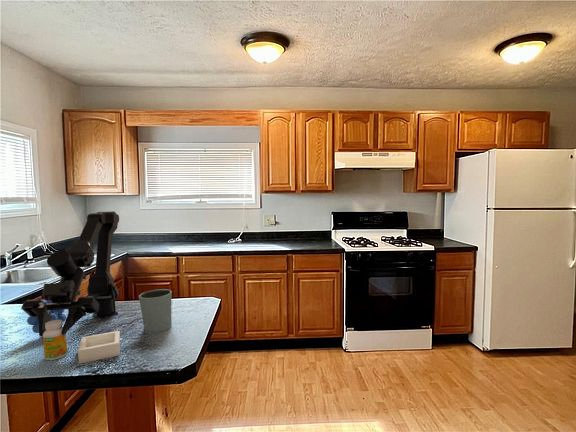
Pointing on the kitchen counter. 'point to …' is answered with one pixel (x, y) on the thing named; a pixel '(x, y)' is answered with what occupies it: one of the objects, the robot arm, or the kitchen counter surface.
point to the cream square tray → (99, 346)
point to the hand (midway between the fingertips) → (51, 335)
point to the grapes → (55, 316)
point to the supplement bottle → (54, 340)
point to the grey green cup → (156, 310)
